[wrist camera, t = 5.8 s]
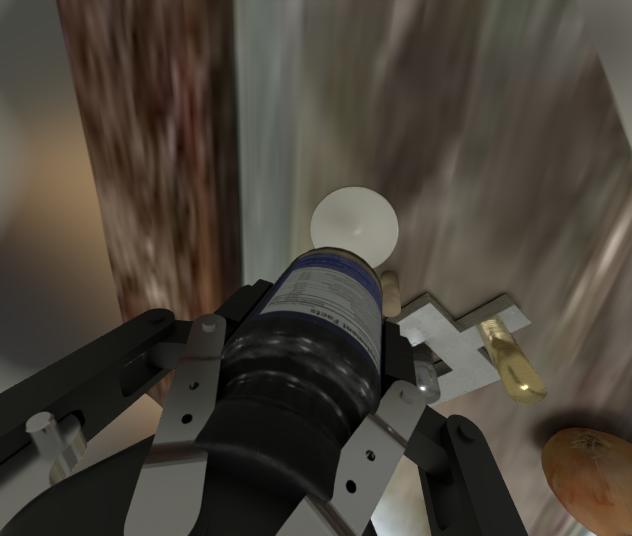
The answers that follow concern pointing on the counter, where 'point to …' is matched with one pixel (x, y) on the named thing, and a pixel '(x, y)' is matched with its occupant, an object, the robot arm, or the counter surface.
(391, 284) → the dowel
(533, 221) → the counter surface
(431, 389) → the post
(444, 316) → the grey plate with post
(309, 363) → the pill bottle
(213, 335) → the robot arm
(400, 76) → the counter surface
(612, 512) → the onion
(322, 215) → the coaster
